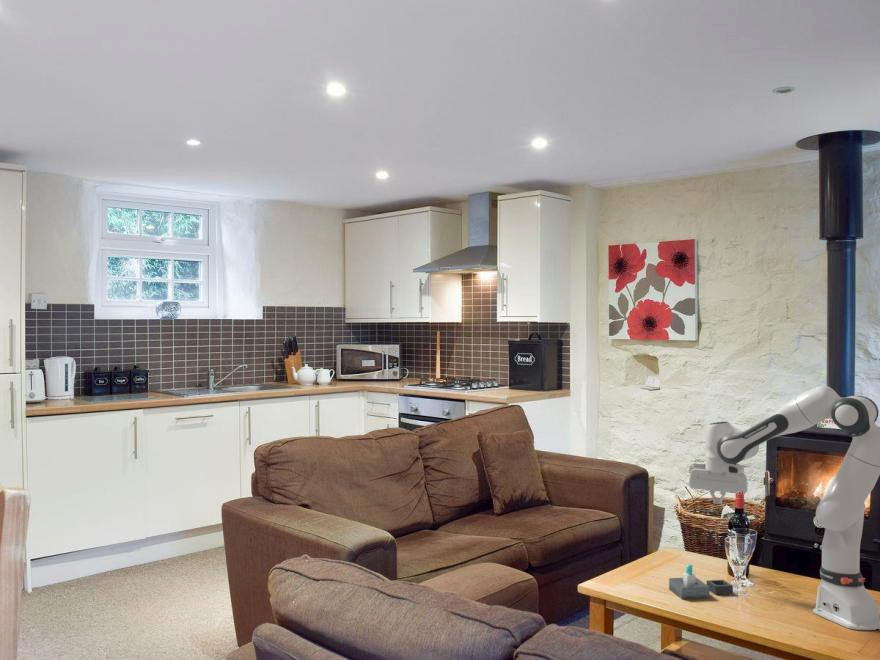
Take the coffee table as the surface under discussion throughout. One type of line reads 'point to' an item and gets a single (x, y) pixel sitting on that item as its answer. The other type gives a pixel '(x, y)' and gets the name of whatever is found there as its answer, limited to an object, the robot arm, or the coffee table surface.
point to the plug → (688, 576)
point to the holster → (720, 587)
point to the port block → (688, 589)
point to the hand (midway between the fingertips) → (717, 503)
